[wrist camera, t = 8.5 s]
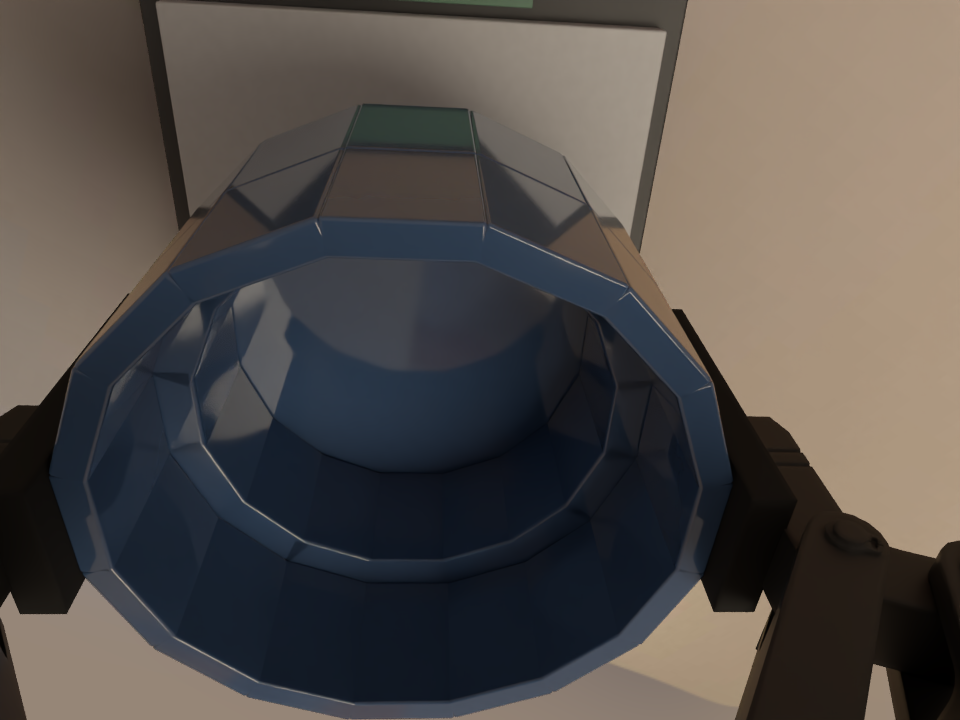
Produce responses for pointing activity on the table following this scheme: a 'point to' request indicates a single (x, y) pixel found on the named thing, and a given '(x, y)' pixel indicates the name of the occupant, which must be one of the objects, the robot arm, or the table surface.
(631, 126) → the scale
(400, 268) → the blue bowl
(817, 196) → the table surface
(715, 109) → the table surface
